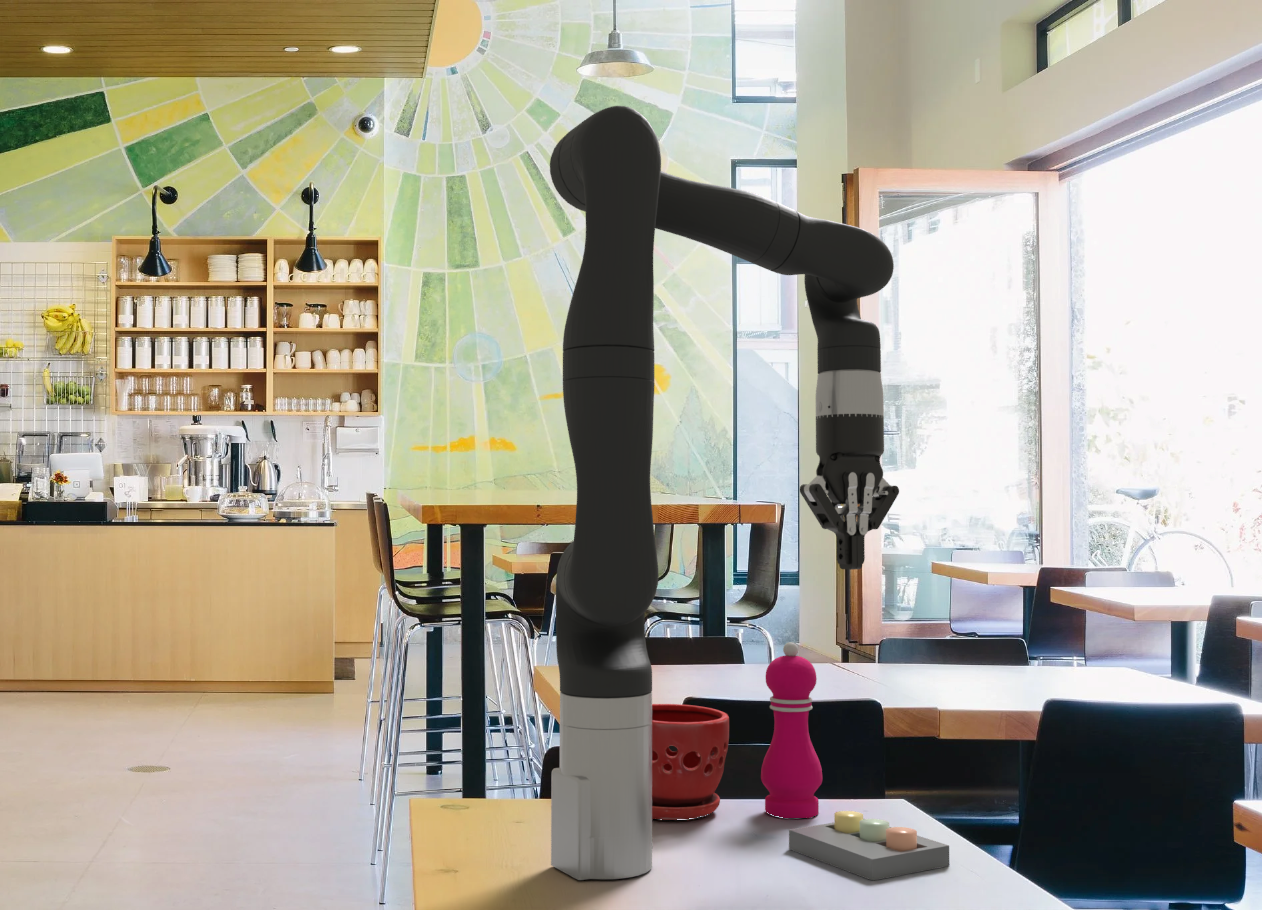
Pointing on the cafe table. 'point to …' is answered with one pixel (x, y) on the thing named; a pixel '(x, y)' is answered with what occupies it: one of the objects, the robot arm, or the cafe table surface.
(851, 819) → the ochre button
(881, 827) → the sage button
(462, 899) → the cafe table surface
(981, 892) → the cafe table surface
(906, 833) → the terracotta button
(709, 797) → the plant pot
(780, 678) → the pepper mill
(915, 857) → the panel
